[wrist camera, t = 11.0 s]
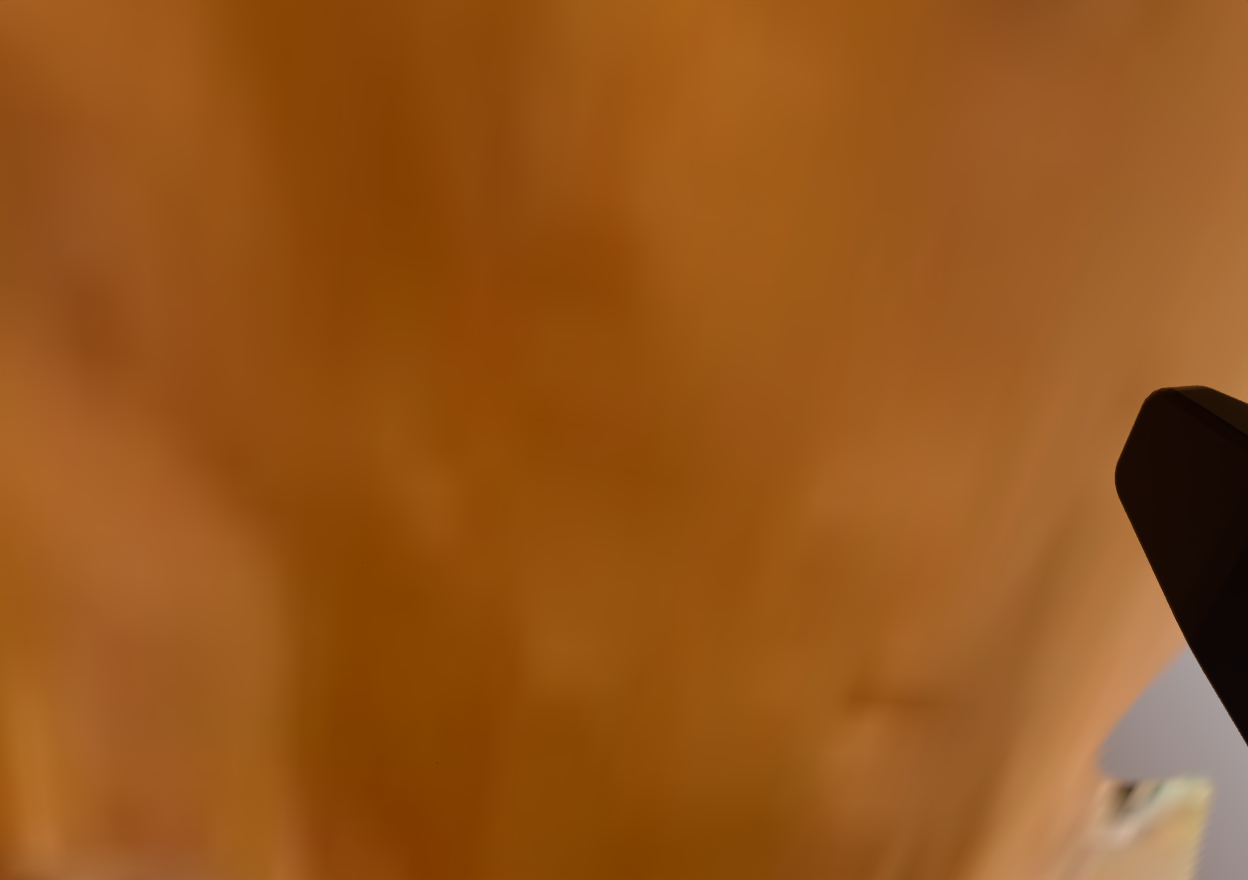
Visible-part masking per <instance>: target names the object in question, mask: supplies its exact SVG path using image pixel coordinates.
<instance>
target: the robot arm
mask: <svg viewBox="0 0 1248 880" xmlns="http://www.w3.org/2000/svg"><path fill="white" fill-rule="evenodd" d="M1115 486H1116V490H1117V494H1118V496H1119V499H1120V501H1121V503H1122V505H1123V507H1124V509H1125V512H1126V514H1127V516H1128V518H1129V520H1130V522H1131V524H1132V527H1133V529H1134V531H1135V533H1136V535H1137V537H1138V539H1139V542H1140V544H1141V546H1142V548H1143V550H1144V552H1145V554H1146V557H1147V559H1148V561H1149V563H1150V565H1151V567H1152V570H1153V572H1154V574H1155V576H1156V578H1157V580H1158V582H1159V585H1160V587H1161V589H1162V591H1163V593H1164V595H1165V597H1166V600H1167V602H1168V604H1169V606H1170V608H1171V610H1172V612H1173V615H1174V617H1175V619H1176V621H1177V623H1178V625H1179V627H1180V629H1181V631H1182V633H1183V635H1184V637H1185V639H1186V641H1187V643H1188V645H1189V647H1190V649H1191V651H1192V652H1193V654H1194V656H1195V658H1196V659H1197V661H1198V663H1199V665H1200V667H1201V668H1202V670H1203V672H1204V673H1205V675H1206V677H1207V679H1208V680H1209V682H1210V684H1211V685H1212V687H1213V689H1214V690H1215V692H1216V694H1217V695H1218V697H1219V699H1220V700H1221V702H1222V704H1223V705H1224V707H1225V709H1226V710H1227V712H1228V714H1229V715H1230V717H1231V719H1232V721H1233V722H1234V724H1235V726H1236V727H1237V729H1238V731H1239V732H1240V734H1241V736H1242V737H1243V739H1244V741H1245V742H1246V744H1247V746H1248V403H1245V402H1243V401H1241V400H1238V399H1236V398H1233V397H1231V396H1229V395H1226V394H1224V393H1221V392H1219V391H1217V390H1214V389H1212V388H1209V387H1205V386H1198V385H1196V386H1181V387H1167V388H1161V389H1158V390H1156V391H1153V392H1152V393H1151V394H1150V395H1149V396H1148V397H1147V398H1146V399H1145V401H1144V403H1143V404H1142V407H1141V409H1140V411H1139V413H1138V416H1137V418H1136V420H1135V423H1134V425H1133V427H1132V430H1131V432H1130V434H1129V436H1128V439H1127V441H1126V443H1125V446H1124V448H1123V450H1122V453H1121V455H1120V457H1119V459H1118V462H1117V465H1116V470H1115Z"/></svg>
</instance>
